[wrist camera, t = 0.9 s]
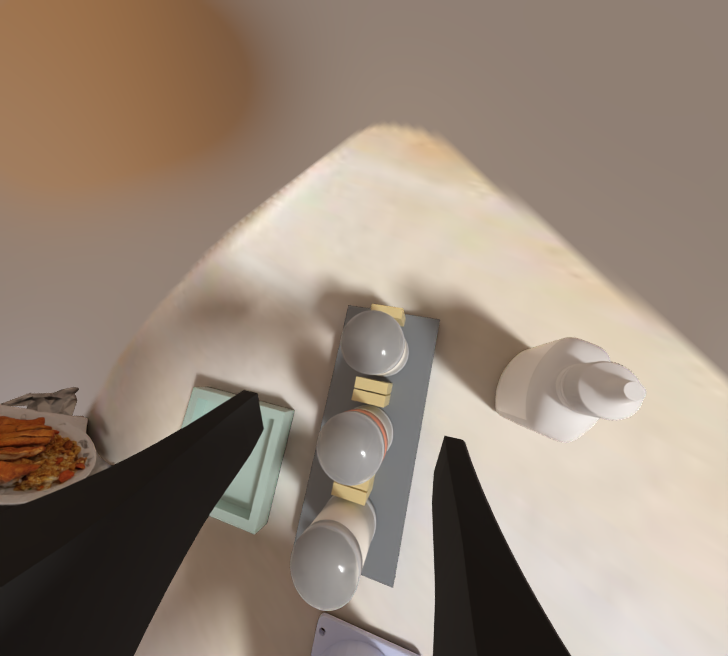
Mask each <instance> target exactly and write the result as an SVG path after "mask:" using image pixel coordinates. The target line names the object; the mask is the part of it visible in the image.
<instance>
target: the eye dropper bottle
mask: <svg viewBox="0 0 728 656" xmlns="http://www.w3.org/2000/svg"><path fill="white" fill-rule="evenodd" d="M645 396H646V389H645V387H644V386H643V385H642V384H641V383H640V381H639V379H638V378H637V376H635V374H634V373H632V371H630V370H629V369H627V368H626V367H624V366H623V365H620V364H617V363H613V362H611V361H610V357H609V355H608V354H607V352H606V351H605V350H604V349H603V348H601V347H599V346H597V345H595V344H592V343H590V342H587V341H584V340H581V339H578V338H572V337H567V338H563V339H559V340H556V341H552V342H549V343H546V344H543V345H540V346H536V347H533V348H530V349H527V350H524V351H522V352H520V353H519V354H518V355H516V356H515V357H514V358H513V359H512V360H511V361H510V363H509V364H508V365H507V366H506V368H505V369H504V371H503V373H502V375H501V377H500V379H499V382H498V385H497V390H496V397H495V406H496V411H497V413H498V414H499V415H500V416H502V417H504V418H506V419H508V420H510V421H512V422H514V423H516V424H518V425H520V426H523V427H525V428H527V429H529V430H532V431H534V432H536V433H539V434H541V435H543V436H546V437H548V438H550V439H553V440H556V441H559V442H564V443H568V442H572V441H574V440H576V439H578V438H579V437H581V436H582V435H583V434H585V433H586V432H587V431H588V430H589V429H590V428H591V427H593V426H594V425H595V423H596V422H597V421H598V420H599V419H600V418H601V419H606V420H621V419H625V418H628V417H631V415H633V414H634V413H636V411H638V409H640V407H641V404H642V401H643V399H644V398H645Z"/></svg>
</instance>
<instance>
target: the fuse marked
mask: <svg viewBox="0 0 728 656" xmlns="http://www.w3.org/2000/svg"><path fill="white" fill-rule="evenodd" d="M393 436H394V429H393V424H392V421H391V419H390V417H389V416H388V414H387V413H386V412H385V411H384V410H382V409H381V408H379V407H377V406H374V405H362V406H359V407H356V408H354V409H351V410H348V411H345V412H343V413H340V414H337V415H335V416H333V417H332V418H330V419H329V420H328V421H327V422H326V423H325V424H324V426H323V427H322V429H321V431H320V433H319V436H318V440H317V455H318V459H319V462H320V465H321V467H322V468H323V470H324V471H325V473H326V474H327V475H328V476H329V477H330V478H331V479H333V480H334V481H336V482H338V483H340V484H343V485H350V486H352V485H359V484H362V483H364V482H366V481H368V480H369V479H370V478H372V477H373V476H374V475H375V473H376V472H377V470H378V469H379V467H380V465H381V463H382V461H383V459H384V457H385V455H386V452H387V451H388V449H389V447H390V446H391V443H392V441H393Z"/></svg>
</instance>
